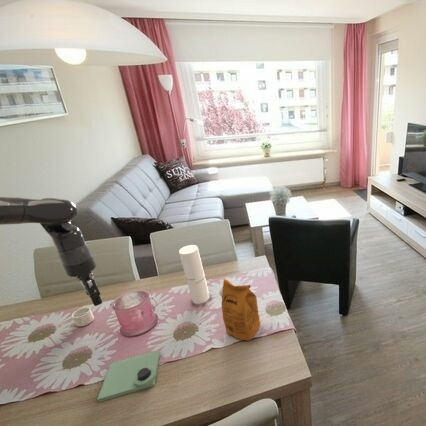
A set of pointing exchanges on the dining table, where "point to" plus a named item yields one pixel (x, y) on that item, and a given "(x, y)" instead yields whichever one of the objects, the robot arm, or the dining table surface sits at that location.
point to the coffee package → (239, 311)
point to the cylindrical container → (194, 273)
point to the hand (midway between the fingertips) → (94, 298)
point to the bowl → (83, 316)
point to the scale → (129, 376)
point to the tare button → (143, 374)
